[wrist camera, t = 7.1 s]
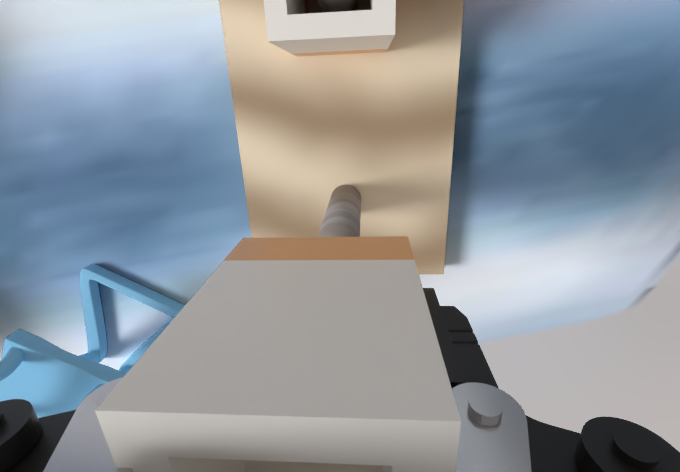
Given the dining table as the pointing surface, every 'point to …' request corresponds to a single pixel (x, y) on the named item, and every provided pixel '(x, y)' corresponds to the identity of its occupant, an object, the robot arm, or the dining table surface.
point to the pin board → (349, 128)
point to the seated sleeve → (329, 28)
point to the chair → (68, 369)
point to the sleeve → (293, 368)
